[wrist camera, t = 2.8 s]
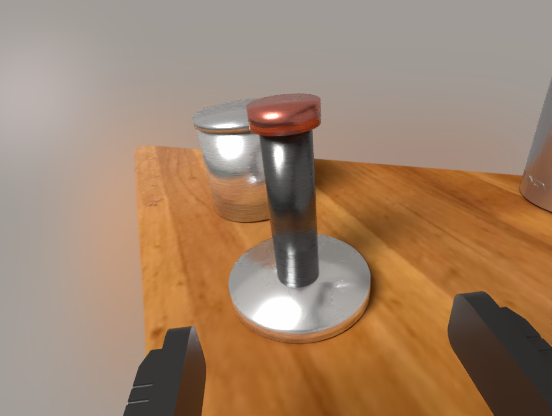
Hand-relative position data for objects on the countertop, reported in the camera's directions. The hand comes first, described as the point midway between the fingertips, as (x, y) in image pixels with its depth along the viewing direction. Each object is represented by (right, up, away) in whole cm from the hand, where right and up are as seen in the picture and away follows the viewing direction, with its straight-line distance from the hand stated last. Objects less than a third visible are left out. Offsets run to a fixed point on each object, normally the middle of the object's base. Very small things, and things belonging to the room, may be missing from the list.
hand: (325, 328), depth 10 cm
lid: (0, -2, +14) cm, 14 cm away
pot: (-4, +5, +26) cm, 27 cm away
